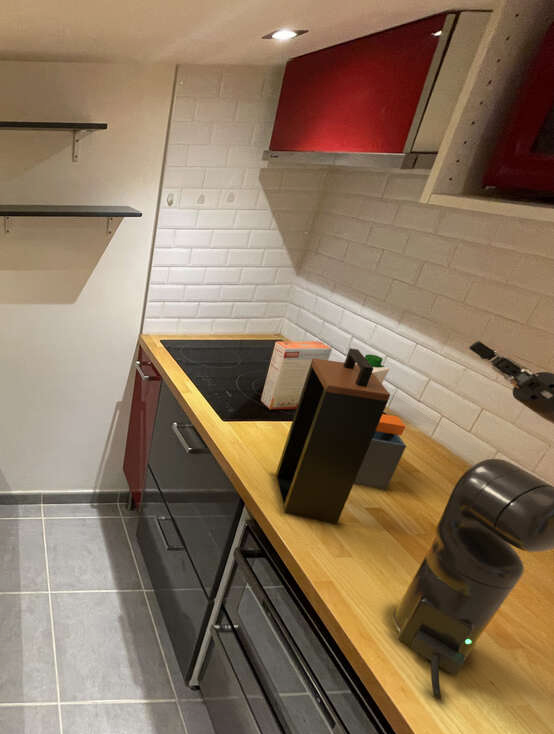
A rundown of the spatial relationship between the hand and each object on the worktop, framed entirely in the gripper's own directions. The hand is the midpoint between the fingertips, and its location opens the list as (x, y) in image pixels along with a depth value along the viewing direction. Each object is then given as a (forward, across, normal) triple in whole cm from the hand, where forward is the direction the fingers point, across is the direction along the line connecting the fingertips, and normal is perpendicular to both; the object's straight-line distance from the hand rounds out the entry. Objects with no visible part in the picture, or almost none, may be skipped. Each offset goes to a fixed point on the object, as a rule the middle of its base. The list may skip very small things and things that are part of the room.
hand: (485, 352), depth 91 cm
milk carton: (-12, -30, +34) cm, 47 cm away
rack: (+5, +14, +44) cm, 47 cm away
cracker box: (+2, -32, +42) cm, 53 cm away
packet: (0, -3, +27) cm, 27 cm away
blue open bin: (-6, -4, +38) cm, 38 cm away
